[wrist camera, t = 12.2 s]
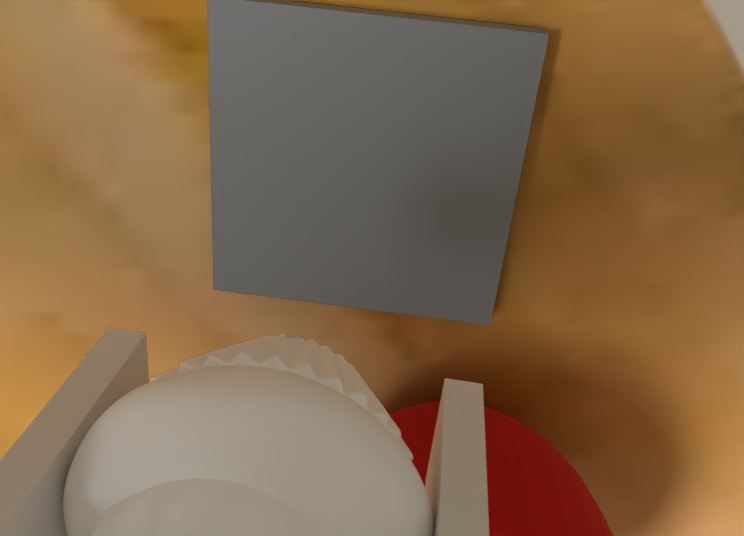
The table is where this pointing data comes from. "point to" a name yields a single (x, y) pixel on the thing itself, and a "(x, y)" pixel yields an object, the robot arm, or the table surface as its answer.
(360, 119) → the coaster
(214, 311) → the table surface
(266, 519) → the white fluted round figurine
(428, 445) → the ceramic cup
